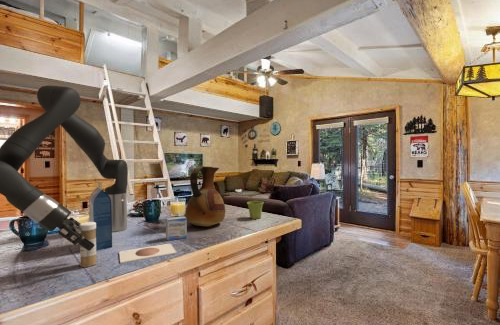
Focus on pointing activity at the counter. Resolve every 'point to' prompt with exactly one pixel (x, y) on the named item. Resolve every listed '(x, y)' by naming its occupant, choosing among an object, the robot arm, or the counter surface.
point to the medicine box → (176, 228)
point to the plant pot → (255, 209)
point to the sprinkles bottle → (89, 233)
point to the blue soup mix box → (101, 217)
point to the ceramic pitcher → (204, 199)
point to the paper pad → (146, 253)
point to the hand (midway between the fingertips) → (93, 243)
